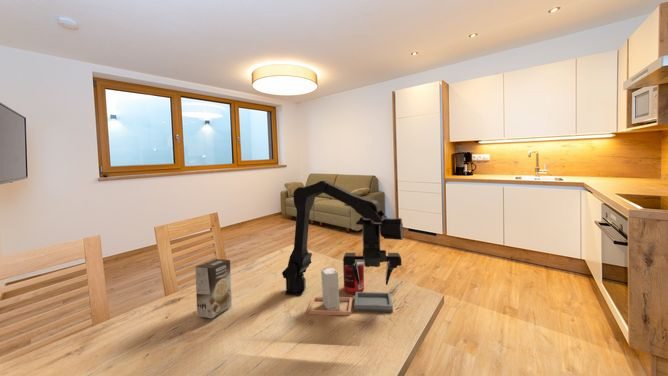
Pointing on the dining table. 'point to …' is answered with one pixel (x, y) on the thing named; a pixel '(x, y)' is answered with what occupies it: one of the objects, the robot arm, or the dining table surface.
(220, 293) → the coffee box
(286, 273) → the robot arm
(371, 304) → the tray
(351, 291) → the canned food
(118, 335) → the dining table surface
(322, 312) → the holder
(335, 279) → the skincare box
